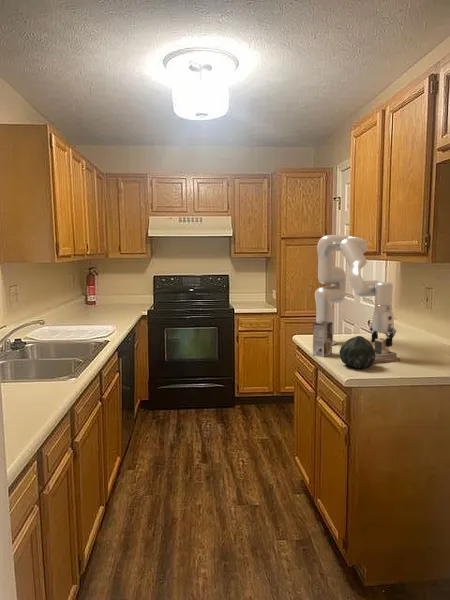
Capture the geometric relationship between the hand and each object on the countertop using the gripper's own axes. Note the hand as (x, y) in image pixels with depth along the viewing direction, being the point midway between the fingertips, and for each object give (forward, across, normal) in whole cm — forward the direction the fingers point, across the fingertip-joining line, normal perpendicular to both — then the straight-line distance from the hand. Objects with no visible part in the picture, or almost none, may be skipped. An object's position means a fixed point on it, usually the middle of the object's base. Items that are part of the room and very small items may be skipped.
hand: (381, 344), depth 202 cm
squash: (+7, -8, +20) cm, 22 cm away
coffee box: (+7, +18, +21) cm, 28 cm away
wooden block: (+6, 0, 0) cm, 6 cm away
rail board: (+7, 0, +3) cm, 8 cm away
